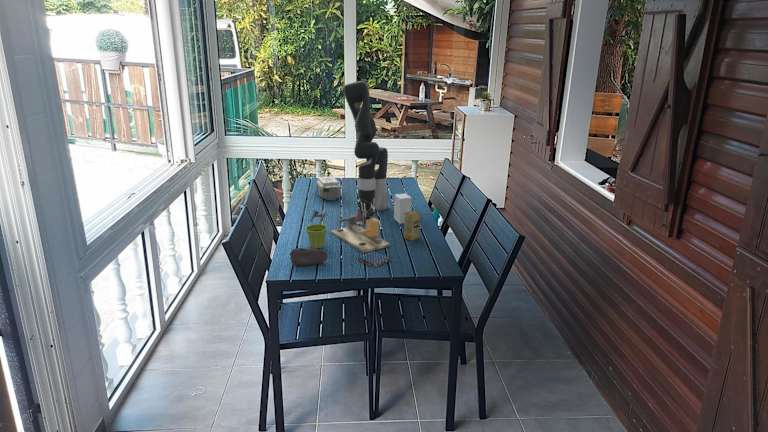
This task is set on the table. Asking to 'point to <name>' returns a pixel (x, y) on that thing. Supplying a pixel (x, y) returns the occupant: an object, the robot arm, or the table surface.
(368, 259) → the woven mat
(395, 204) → the small box
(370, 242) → the board
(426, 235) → the table surface
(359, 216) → the hand axe
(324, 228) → the plant pot
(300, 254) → the perforated stone tool
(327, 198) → the grey lidded box
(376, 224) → the block
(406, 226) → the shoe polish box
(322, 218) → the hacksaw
